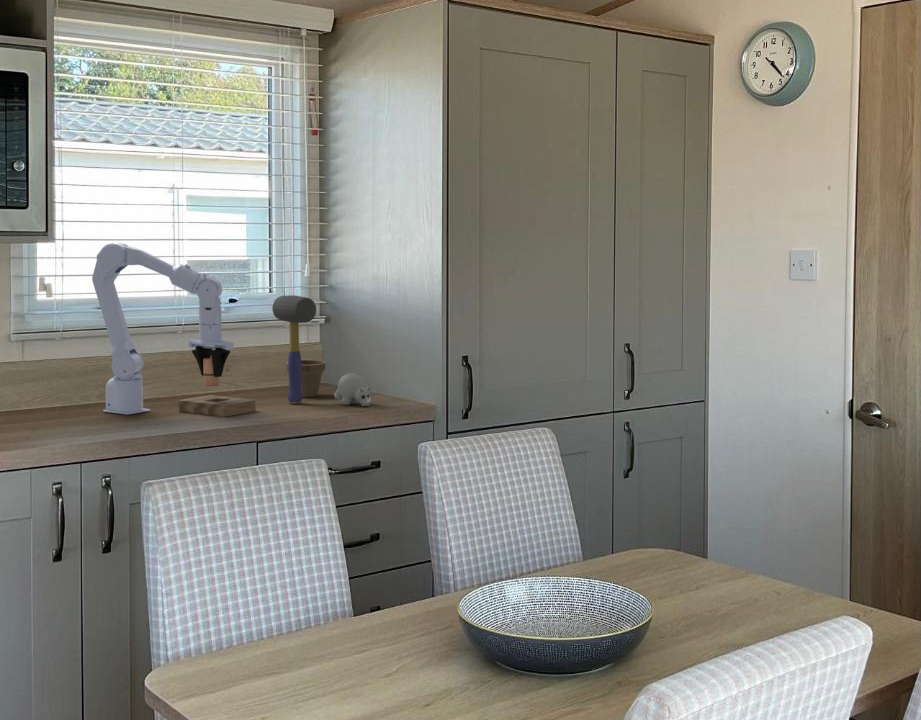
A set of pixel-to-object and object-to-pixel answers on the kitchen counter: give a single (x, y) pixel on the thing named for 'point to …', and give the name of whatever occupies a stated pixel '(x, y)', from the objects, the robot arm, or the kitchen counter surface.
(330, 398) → the kitchen counter surface
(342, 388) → the chubby cartoon animal
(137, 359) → the robot arm
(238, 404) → the socket board
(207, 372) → the peg
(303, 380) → the flower pot
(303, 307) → the rubber mallet
